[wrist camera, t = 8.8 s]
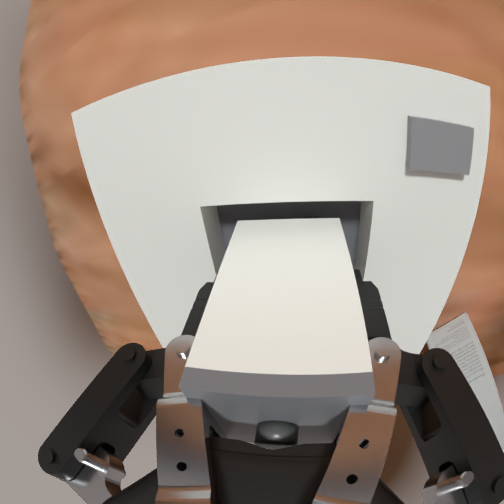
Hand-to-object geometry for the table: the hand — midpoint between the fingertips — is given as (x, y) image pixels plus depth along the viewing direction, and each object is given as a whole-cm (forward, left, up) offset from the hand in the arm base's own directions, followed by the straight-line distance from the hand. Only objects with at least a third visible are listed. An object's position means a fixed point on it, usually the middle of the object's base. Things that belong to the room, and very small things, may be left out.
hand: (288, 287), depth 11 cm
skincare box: (-14, +10, -4) cm, 18 cm away
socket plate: (0, 0, -4) cm, 4 cm away
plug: (0, 0, -2) cm, 2 cm away
